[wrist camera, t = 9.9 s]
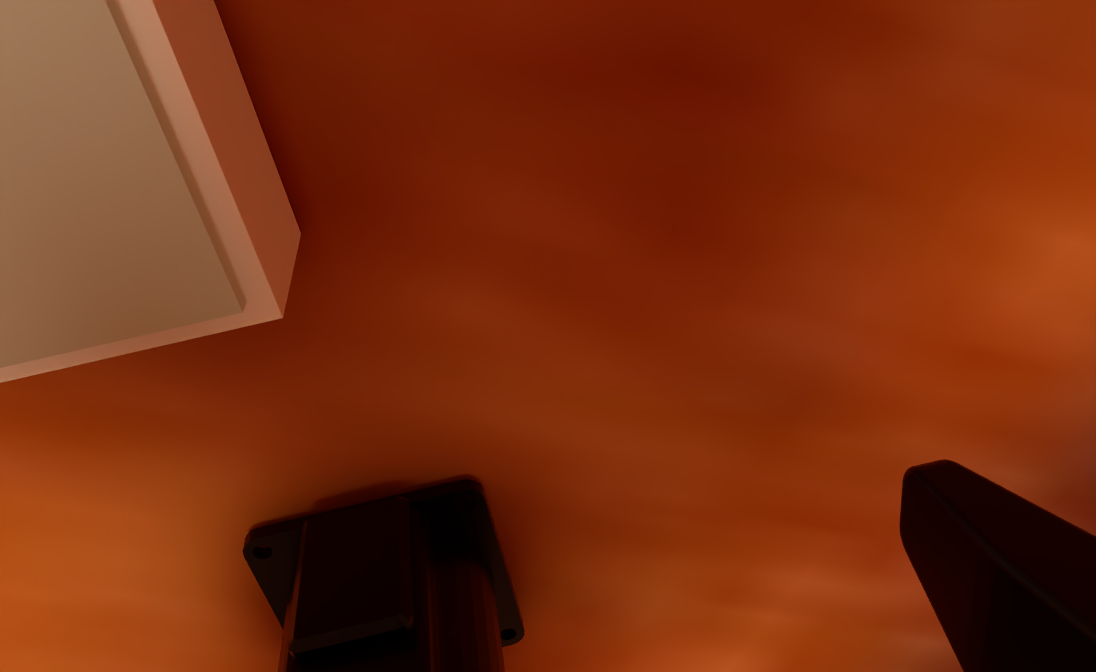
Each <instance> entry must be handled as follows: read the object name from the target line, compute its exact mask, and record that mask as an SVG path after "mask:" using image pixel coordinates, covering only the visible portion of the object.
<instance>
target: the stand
mask: <svg viewBox="0 0 1096 672" xmlns="http://www.w3.org/2000/svg"><path fill="white" fill-rule="evenodd" d="M300 236H301V232H300V230H299V227H298V224H297V221H296V219H295V216H294V213H293V211H292V208H291V205H290V203H289V200H288V197H287V195H286V192H285V189H284V187H283V184H282V181H281V179H280V176H279V173H278V171H277V168H276V165H275V163H274V160H273V157H272V155H271V152H270V149H269V147H268V144H267V141H266V139H265V136H264V133H263V131H262V128H261V125H260V123H259V120H258V117H257V114H256V112H255V109H254V106H253V104H252V101H251V98H250V96H249V93H248V90H247V88H246V85H245V82H244V80H243V77H242V74H241V72H240V69H239V66H238V64H237V61H236V58H235V56H234V53H233V50H232V48H231V45H230V42H229V40H228V37H227V34H226V32H225V29H224V26H223V24H222V21H221V18H220V16H219V13H218V10H217V8H216V5H215V2H214V0H0V383H2V382H6V381H10V380H15V379H19V378H23V377H28V376H32V375H37V374H41V373H45V372H50V371H54V370H58V369H63V368H67V367H71V366H76V365H80V364H85V363H89V362H93V361H98V360H102V359H106V358H111V357H115V356H119V355H124V354H128V353H133V352H137V351H141V350H146V349H150V348H154V347H159V346H163V345H167V344H172V343H176V342H181V341H185V340H189V339H194V338H198V337H202V336H207V335H211V334H215V333H220V332H224V331H229V330H233V329H237V328H242V327H246V326H250V325H255V324H259V323H263V322H268V321H272V320H277V319H281V318H283V315H284V311H285V306H286V301H287V297H288V292H289V287H290V283H291V278H292V273H293V269H294V264H295V260H296V255H297V250H298V246H299V241H300Z"/></svg>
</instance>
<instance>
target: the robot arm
mask: <svg viewBox="0 0 1096 672" xmlns="http://www.w3.org/2000/svg"><path fill="white" fill-rule="evenodd" d="M463 497H472V499H470V500H465V501H463V500H460V499H461V498H463ZM900 535H901V539H902V543H903V546H904V549H905V551H906V553H907V555H908V557H909V560H910V562H911V564H912V566H913V568H914V570H915V572H916V574H917V576H918V578H919V580H920V582H921V584H922V587H923V589H924V591H925V593H926V595H927V597H928V599H929V601H930V603H931V605H932V607H933V609H934V611H935V613H936V616H937V618H938V620H939V622H940V624H941V626H942V628H943V630H944V632H945V634H946V636H947V638H948V640H949V643H950V645H951V647H952V649H953V651H954V653H955V655H956V657H957V659H958V661H959V663H960V665H961V667H962V670H963V671H964V672H1096V536H1094V535H1092V534H1090V533H1089V532H1087V531H1085V530H1083V529H1081V528H1079V527H1077V526H1075V525H1073V524H1072V523H1070V522H1068V521H1066V520H1064V519H1062V518H1060V517H1058V516H1056V515H1055V514H1053V513H1051V512H1049V511H1047V510H1045V509H1043V508H1041V507H1039V506H1038V505H1036V504H1034V503H1032V502H1030V501H1028V500H1026V499H1024V498H1022V497H1021V496H1019V495H1017V494H1015V493H1013V492H1011V491H1009V490H1007V489H1006V488H1004V487H1002V486H1000V485H998V484H996V483H994V482H992V481H990V480H989V479H987V478H985V477H983V476H981V475H979V474H977V473H975V472H973V471H972V470H970V469H968V468H966V467H964V466H962V465H960V464H958V463H956V462H954V461H950V460H938V461H934V462H929V463H925V464H921V465H917V466H913V467H910V468H909V469H907V471H906V472H905V474H904V477H903V484H902V498H901V512H900ZM259 545H266V546H269V547H268V548H261V547H258V546H259ZM243 555H244V558H245V559H246V561H247V563H248V565H249V567H250V569H251V571H252V572H253V574H254V576H255V578H256V580H257V582H258V584H259V585H260V587H261V589H262V591H263V593H264V595H265V596H266V598H267V600H268V602H269V604H270V606H271V608H272V609H273V611H274V613H275V615H276V617H277V619H278V621H279V622H280V624H281V626H282V628H283V637H282V645H281V652H280V659H279V667H278V672H505V668H504V660H503V652H502V647H504V646H508V645H512V644H515V643H517V642H518V641H520V640H521V639H522V638H523V636H524V626H523V619H522V616H521V613H520V609H519V606H518V603H517V599H516V596H515V593H514V589H513V586H512V582H511V579H510V576H509V572H508V569H507V566H506V562H505V559H504V555H503V552H502V549H501V545H500V542H499V539H498V535H497V532H496V529H495V525H494V522H493V518H492V515H491V512H490V508H489V505H488V502H487V498H486V495H485V492H484V489H483V487H482V485H481V484H480V483H478V482H477V481H474V480H469V479H467V480H459V481H455V482H451V483H446V484H442V485H438V486H434V487H429V488H425V489H421V490H417V491H413V492H408V493H404V494H400V495H396V496H391V497H387V498H383V499H379V500H374V501H370V502H366V503H362V504H357V505H353V506H349V507H345V508H341V509H336V510H332V511H328V512H324V513H319V514H315V515H311V516H307V517H302V518H298V519H294V520H290V521H285V522H281V523H277V524H273V525H269V526H264V527H260V528H257V529H254V530H252V531H250V532H249V533H248V534H247V536H246V538H245V542H244V547H243Z"/></svg>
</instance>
